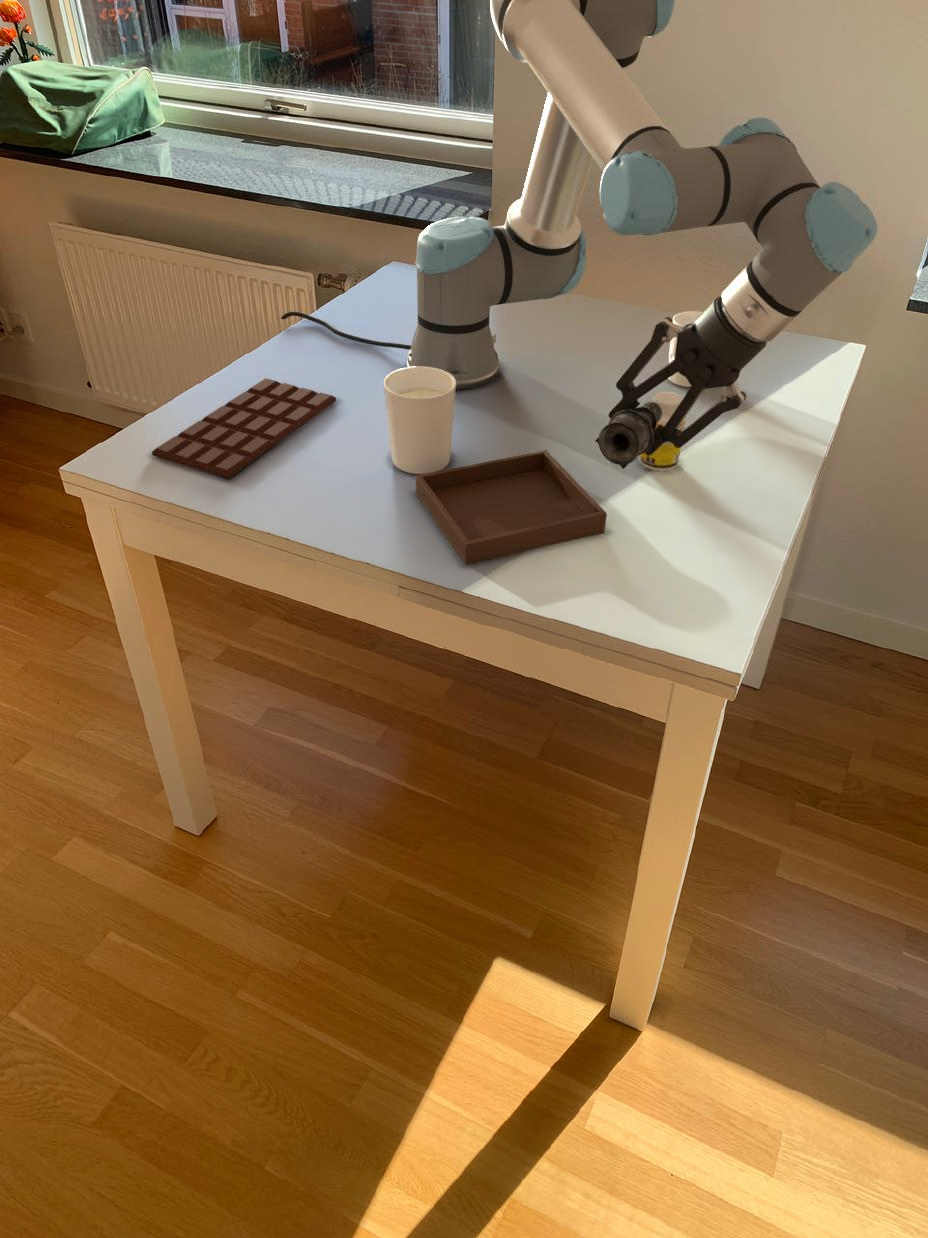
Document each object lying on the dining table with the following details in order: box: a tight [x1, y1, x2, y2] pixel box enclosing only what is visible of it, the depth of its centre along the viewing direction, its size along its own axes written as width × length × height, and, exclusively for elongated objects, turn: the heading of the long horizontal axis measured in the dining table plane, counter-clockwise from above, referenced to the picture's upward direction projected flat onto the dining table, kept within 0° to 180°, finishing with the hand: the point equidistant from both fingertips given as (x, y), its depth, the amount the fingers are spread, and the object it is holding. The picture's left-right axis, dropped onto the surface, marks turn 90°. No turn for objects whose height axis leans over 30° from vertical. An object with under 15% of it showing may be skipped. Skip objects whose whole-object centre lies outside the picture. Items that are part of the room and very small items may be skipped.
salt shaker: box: [597, 401, 662, 466], centre depth 117 cm, size 6×6×12 cm
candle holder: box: [383, 366, 457, 475], centre depth 134 cm, size 10×10×12 cm
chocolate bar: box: [151, 378, 337, 480], centre depth 144 cm, size 27×14×1 cm, turn 153°
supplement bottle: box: [638, 391, 687, 472], centre depth 135 cm, size 6×6×10 cm
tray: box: [415, 449, 608, 565], centre depth 126 cm, size 19×17×3 cm
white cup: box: [667, 310, 704, 388], centre depth 157 cm, size 8×8×10 cm
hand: (613, 450), depth 121 cm, fingers closed on salt shaker, 3 cm apart
